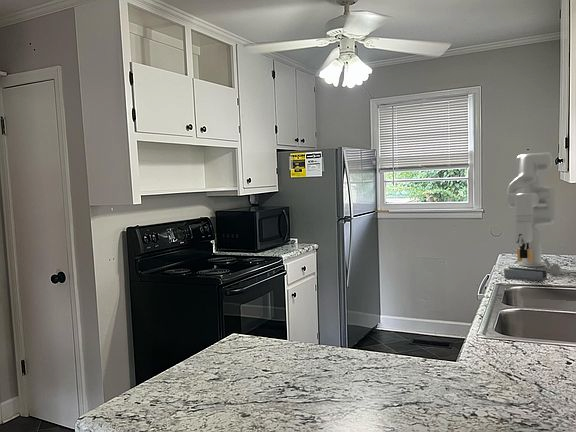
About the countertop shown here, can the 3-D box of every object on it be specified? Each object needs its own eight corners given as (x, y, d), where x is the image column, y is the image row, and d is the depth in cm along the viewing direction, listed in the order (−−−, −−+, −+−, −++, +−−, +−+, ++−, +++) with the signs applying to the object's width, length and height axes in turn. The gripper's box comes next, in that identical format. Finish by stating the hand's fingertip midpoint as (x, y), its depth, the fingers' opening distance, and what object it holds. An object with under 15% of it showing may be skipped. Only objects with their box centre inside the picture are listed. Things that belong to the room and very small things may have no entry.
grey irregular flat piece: (560, 274, 235) (560, 258, 234) (559, 275, 234) (559, 258, 233) (543, 273, 239) (543, 257, 238) (543, 274, 238) (543, 258, 237)
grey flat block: (509, 274, 240) (509, 266, 240) (546, 278, 228) (546, 270, 228) (504, 277, 235) (504, 269, 235) (541, 281, 223) (541, 272, 223)
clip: (519, 261, 234) (519, 248, 233) (532, 261, 229) (532, 249, 229) (517, 261, 232) (517, 249, 232) (530, 262, 228) (530, 249, 227)
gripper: (522, 217, 238) (522, 255, 239) (509, 220, 227) (510, 259, 228) (538, 218, 233) (539, 256, 234) (526, 220, 221) (527, 260, 222)
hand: (524, 257), depth 231 cm, fingers closed on clip, 2 cm apart
